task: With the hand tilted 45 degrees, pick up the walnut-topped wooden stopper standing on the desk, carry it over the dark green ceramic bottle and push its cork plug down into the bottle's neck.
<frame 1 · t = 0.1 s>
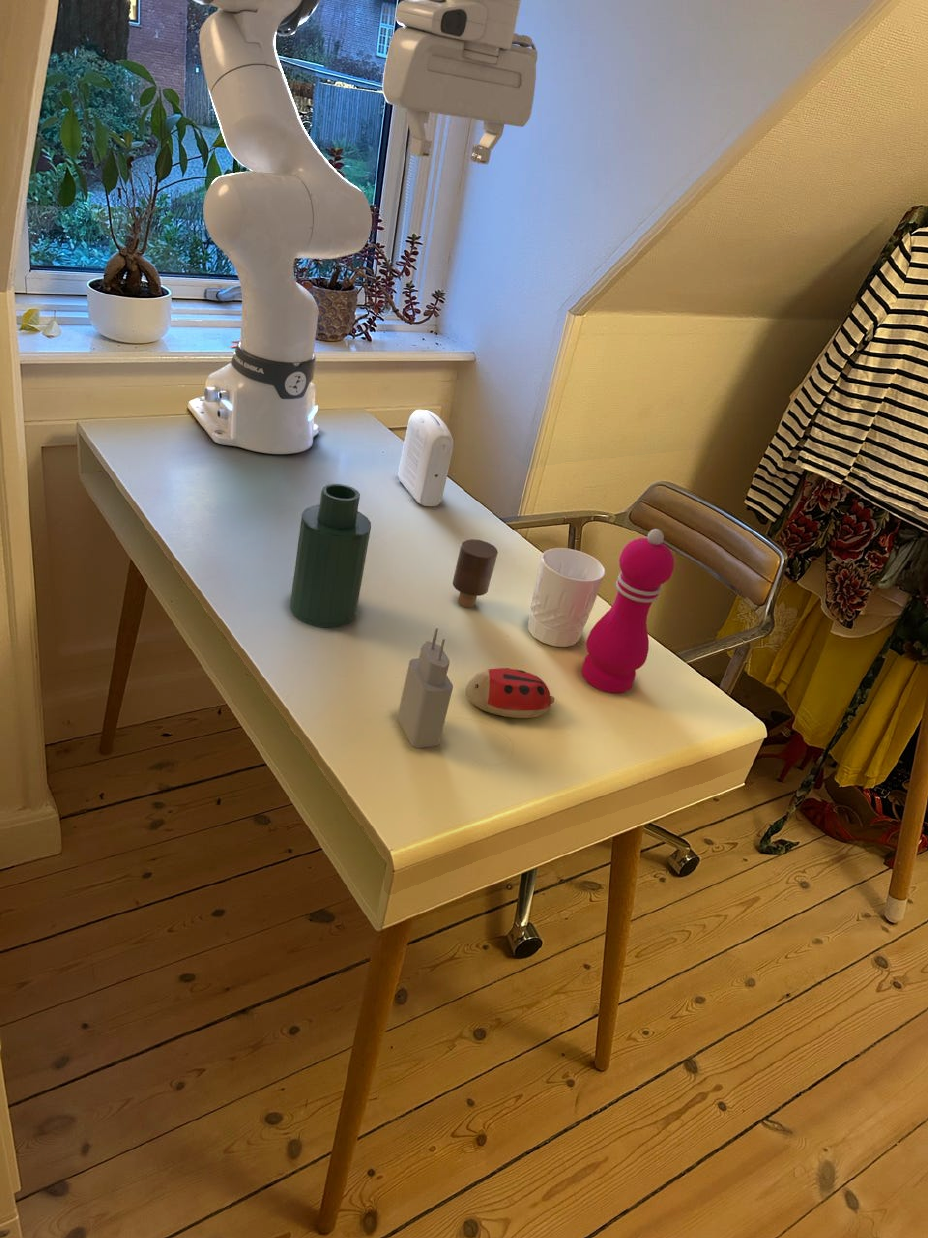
hand: (449, 159, 113), 48 cm above the table, tool pointing down, fingers open, 8 cm apart
stopper: (466, 602, 123), on the table
pepper mill: (605, 679, 116), on the table
bottle: (322, 609, 115), on the table
power adapter: (417, 731, 100), on the table
white cup: (552, 633, 122), on the table
ladybug figurine: (506, 704, 107), on the table
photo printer: (418, 492, 149), on the table
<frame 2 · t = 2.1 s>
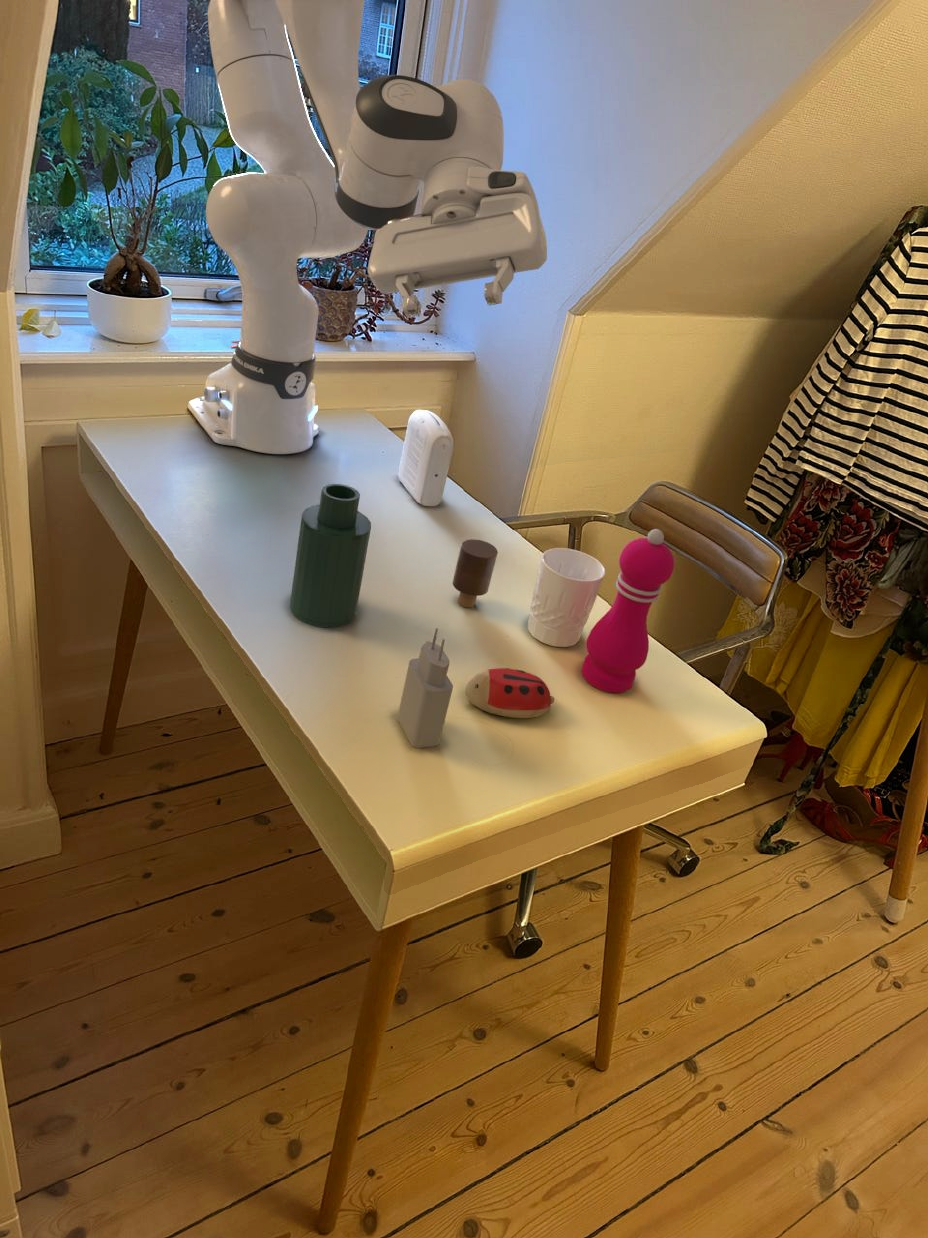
hand: (451, 307, 106), 35 cm above the table, tool tilted 50°, fingers open, 8 cm apart
nothing on the table moved.
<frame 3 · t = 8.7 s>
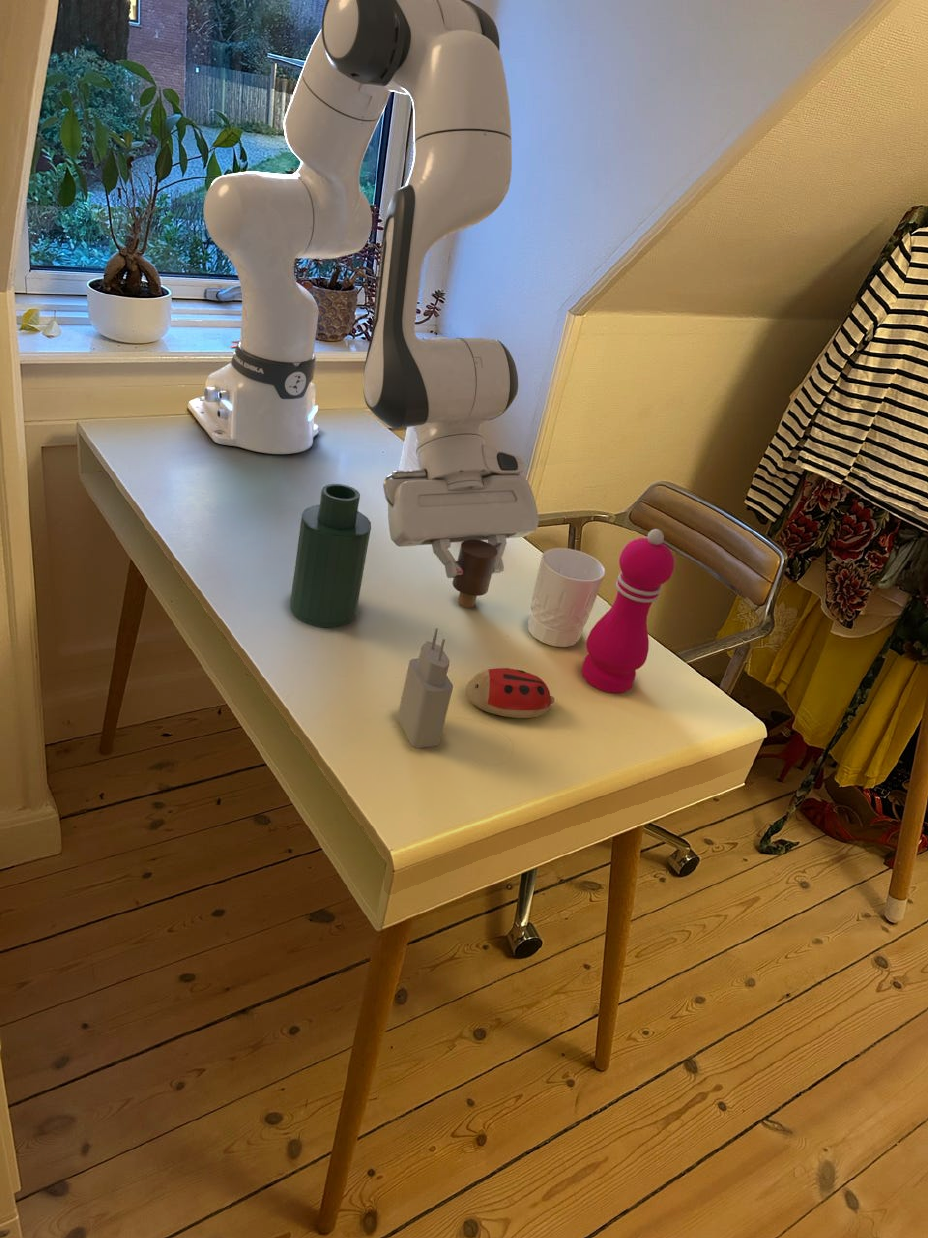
hand: (476, 574, 121), 5 cm above the table, tool tilted 45°, fingers closed on stopper, 4 cm apart
stopper: (466, 603, 123), on the table, touching gripper
everything else where it was.
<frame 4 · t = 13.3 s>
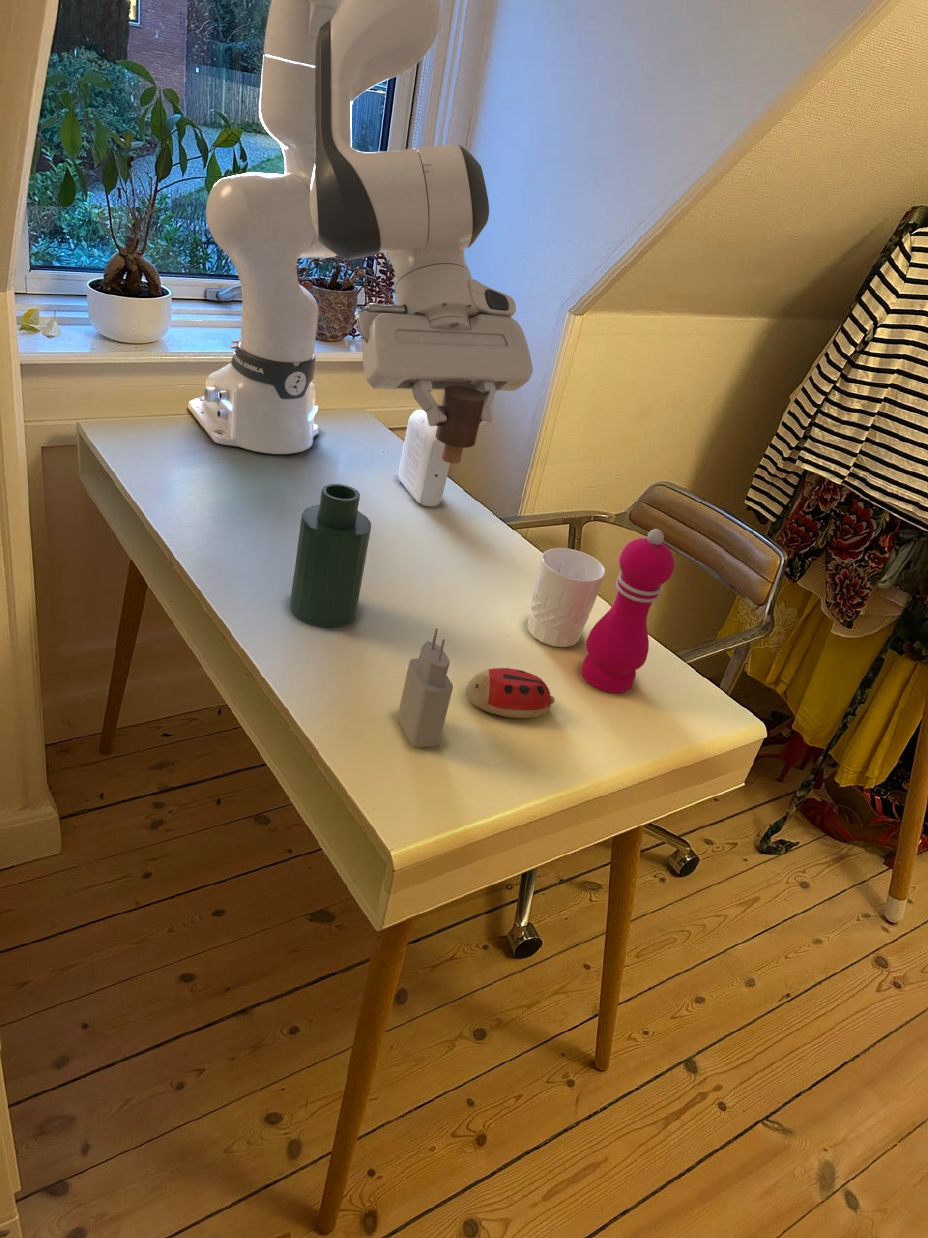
hand: (461, 424, 108), 24 cm above the table, tool tilted 45°, fingers closed on stopper, 4 cm apart
stopper: (451, 459, 110), point 20 cm above the table, touching gripper
everything else where it was.
when the fingers open (17 cm above the table, at t = 18.2 s): stopper stays where it is, resting on bottle.
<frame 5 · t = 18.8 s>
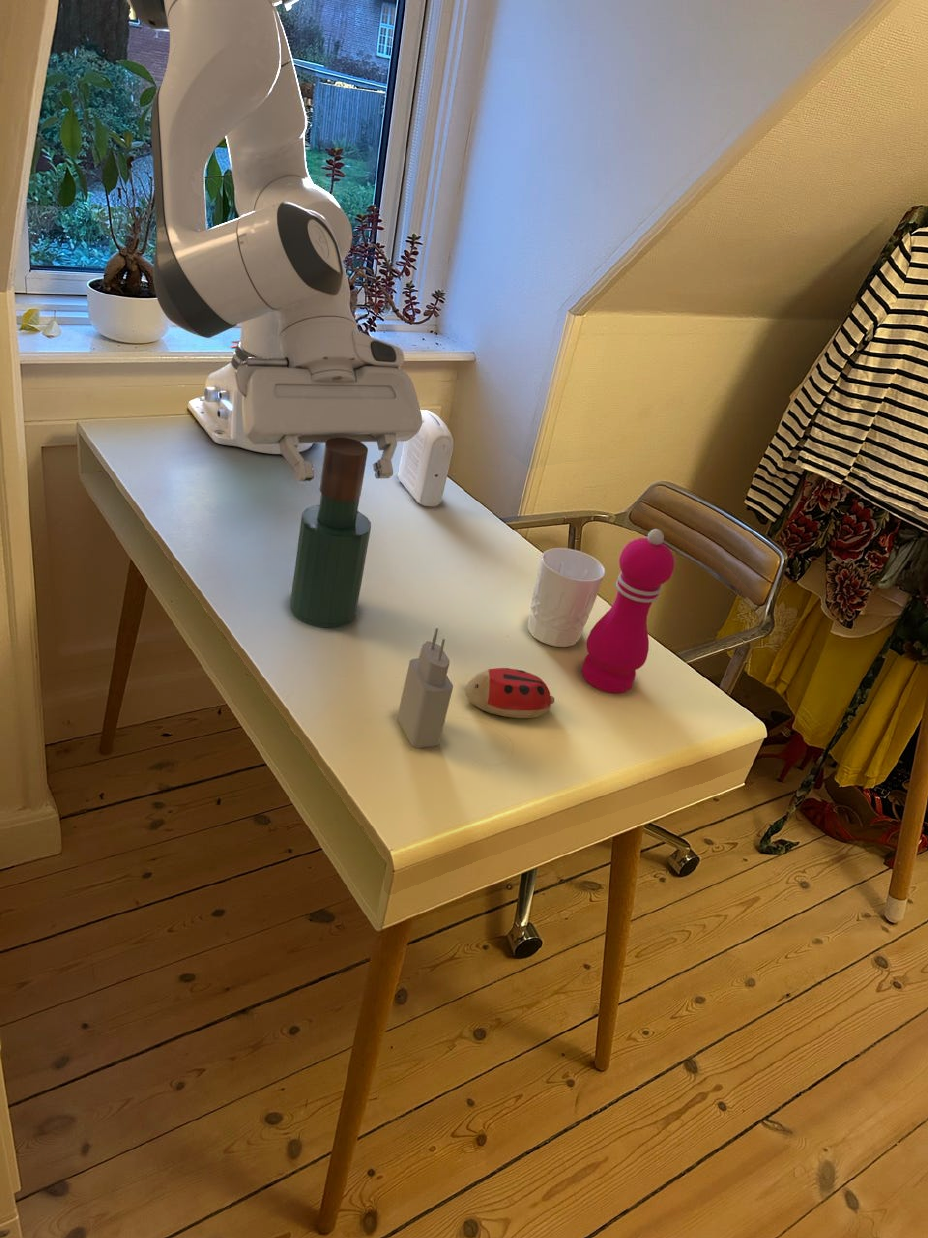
hand: (346, 478, 106), 17 cm above the table, tool tilted 45°, fingers open, 8 cm apart
stopper: (336, 512, 108), point 13 cm above the table, touching bottle
everything else where it was.
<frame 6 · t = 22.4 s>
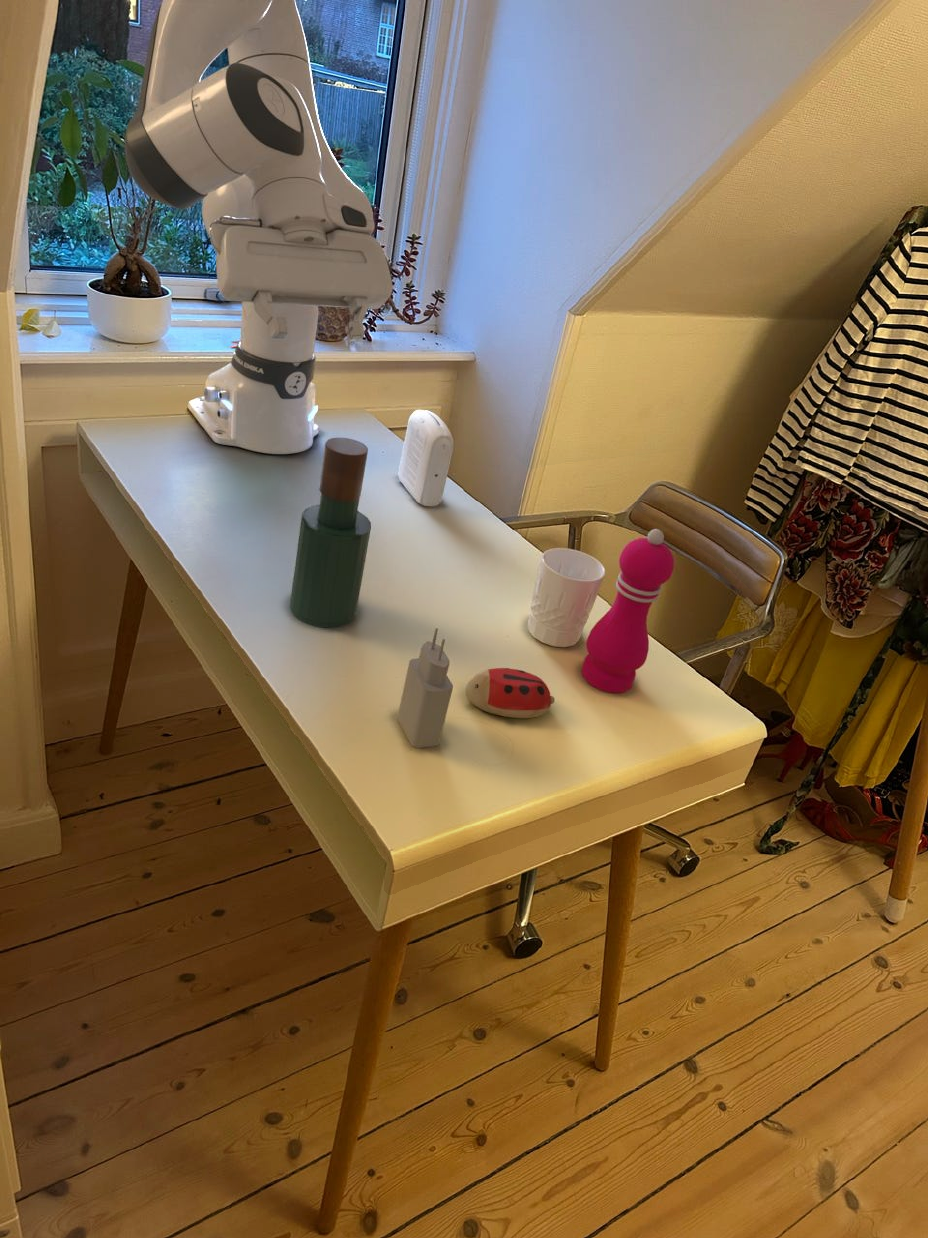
hand: (318, 337, 109), 29 cm above the table, tool tilted 45°, fingers open, 8 cm apart
nothing on the table moved.
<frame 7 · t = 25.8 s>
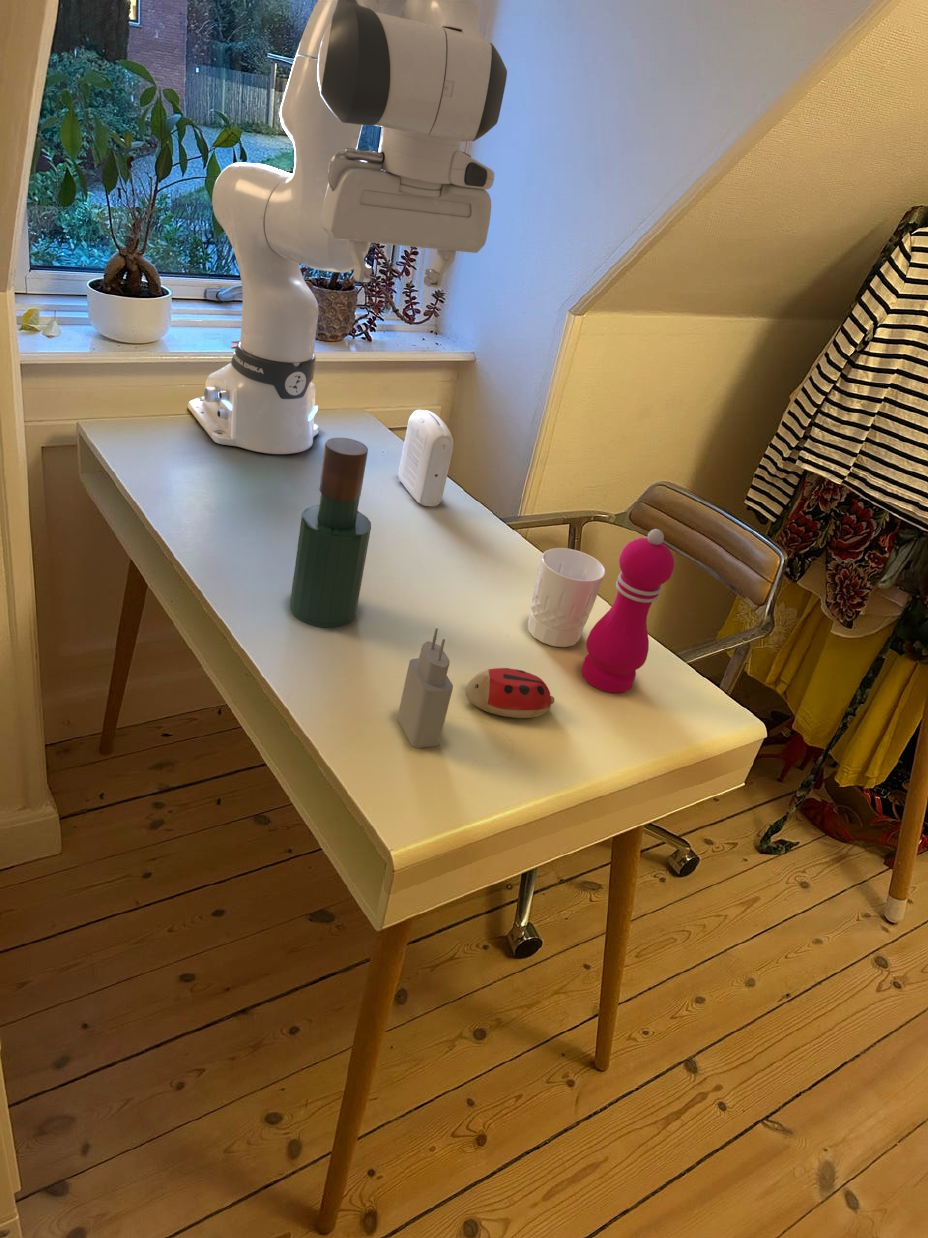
hand: (397, 283, 115), 34 cm above the table, tool pointing down, fingers open, 8 cm apart
nothing on the table moved.
at the end: stopper 0.1 cm off-centre in the bottle, point 13.0 cm above the bottle's base; stopper tilted 0°; the gripper is holding nothing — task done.
